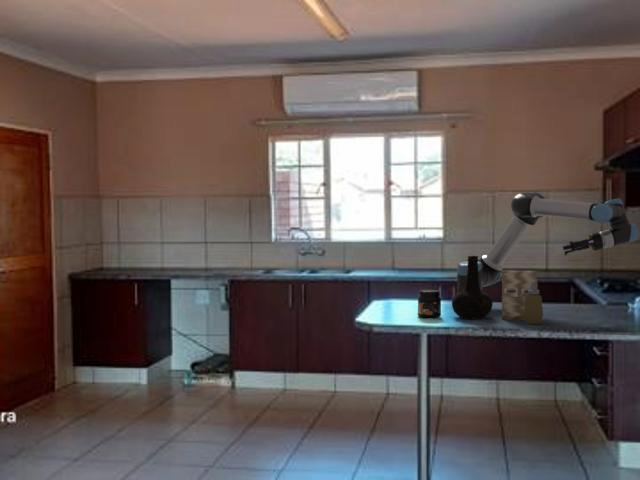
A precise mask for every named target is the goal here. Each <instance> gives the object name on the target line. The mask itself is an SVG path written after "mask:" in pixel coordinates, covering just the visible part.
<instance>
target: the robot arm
mask: <svg viewBox="0 0 640 480" xmlns="http://www.w3.org/2000/svg"><path fill="white" fill-rule="evenodd" d="M510 206H511V208H510V209H511V210H512V214H513V217H511V220H510V221H509V222H508V224H507V226H505V228H504V230H503V231H502V233H501V234H500V236H499V237H498V239H497V240H496V241H495V243H494V244H493V246H492V247H491V249H490V250H489V251H488V253H487V254H483V255H482V256H481V257H480V258H479V260H480V261H478V277H479V286H480V289H481V290H482V291H483V288H484V287H490V286H493V285H495V284H496V283H498V282H499V280H500V279H501V277H502V271H503V269H504V267H503V264H504V262H505V261H506V260H507V258H508V257H509V256H510V254H511V253H512V252H513V250H514V248H515V247H516V245H517V244H518V243H519V241H520V239H521V238H522V237H523V236H524V234H525V233H526V232H527V230H528V229H529V227H533V226H535V224H536V223H537V222H538V220H539V219H540V218H543V217H551V218H552V217H553V218H563V219H570V220H571V219H572V220H582V221H583V220H584V221H591V222H598V223H608V222H609V226H610V227H611V228H609V229H604V230H601V231H599V232H597V231H596V232H593V233H590V234H589V235H588V239H587V238H585V239H582V240H580V241H574V242H573V241H569V243H567V244H564V245H559V246H556V247H554V249H553V250H549V251H548V255H549V258H553V257H558V256H562V255H564V256H567V254H570V253H573V252H577V251H582V250H588V249H590V248H591V249H592V250H593V251H600V250H603V249H608V248H609V249H612V247H615V246H620V245H624V244H628V243H631V242H634V241H637V240H638V239H639V235H640V233H639V230H638V227H637V225H636V224H635V223H630V221H629V218H628V216H627V212H626V209H625V205H624V203H623V201H622V199H621V198H614V199H610V200H607V201H605V202H604V203H598V202H596V203H594V202H582V201H571V200H561V199H559V200H558V199H549V198H548V199H547V197H546V196H545V195H544V194H542V193H540V192H520V193H518V194H515V196H514V197H513V198H512V200H511V203H510ZM467 270H468V261H467V260H466V261H462V262H459V263H458V264H457V269H456V274H457V275H456V278H457V279H456V280H457V281H456V284H457V286H456V289H457V292H456V294H457V293H459V292H461V291H462V290H463V289H464V287H465V283H466V278H467Z"/></svg>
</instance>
